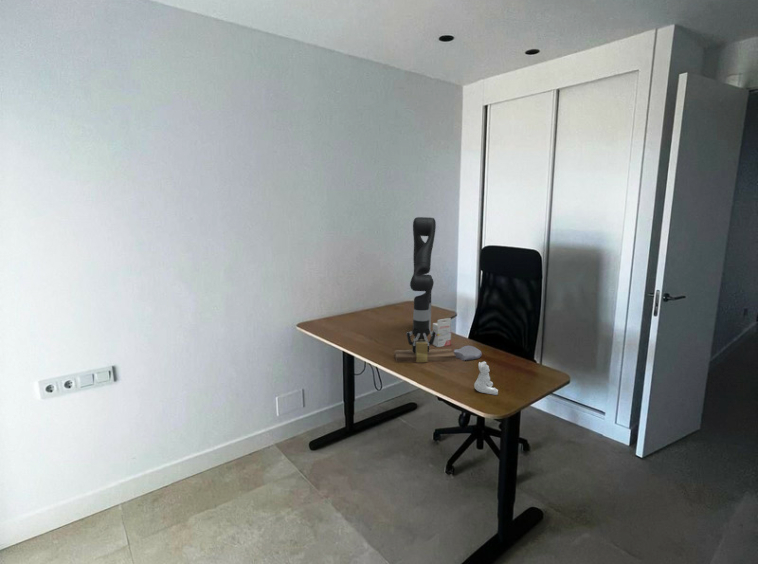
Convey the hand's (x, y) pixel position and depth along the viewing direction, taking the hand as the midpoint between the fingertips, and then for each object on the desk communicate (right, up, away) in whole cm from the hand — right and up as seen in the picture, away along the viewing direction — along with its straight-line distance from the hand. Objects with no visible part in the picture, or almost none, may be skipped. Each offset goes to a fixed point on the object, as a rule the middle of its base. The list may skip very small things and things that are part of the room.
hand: (420, 352), depth 200 cm
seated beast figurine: (+22, -10, -32) cm, 40 cm away
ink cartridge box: (+13, 0, +22) cm, 25 cm away
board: (+2, -3, +3) cm, 5 cm away
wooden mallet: (0, -3, +4) cm, 4 cm away
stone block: (+24, -3, +5) cm, 24 cm away
